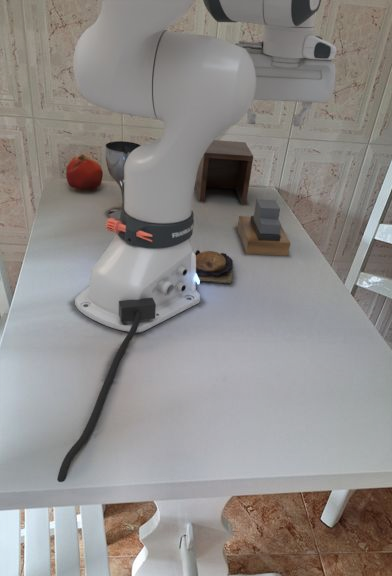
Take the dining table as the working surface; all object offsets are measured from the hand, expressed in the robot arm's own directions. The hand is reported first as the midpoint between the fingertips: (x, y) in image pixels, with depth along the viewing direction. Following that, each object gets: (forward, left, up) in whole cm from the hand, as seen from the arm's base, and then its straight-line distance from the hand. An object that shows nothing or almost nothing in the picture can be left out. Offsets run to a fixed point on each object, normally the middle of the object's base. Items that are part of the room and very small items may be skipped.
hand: (274, 124), depth 97 cm
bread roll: (-22, -1, -23) cm, 32 cm away
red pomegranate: (-6, +45, -23) cm, 51 cm away
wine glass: (-12, +28, -23) cm, 38 cm away
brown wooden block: (-3, -3, -23) cm, 24 cm away
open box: (+16, +18, -23) cm, 33 cm away
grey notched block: (-3, -3, -20) cm, 21 cm away
